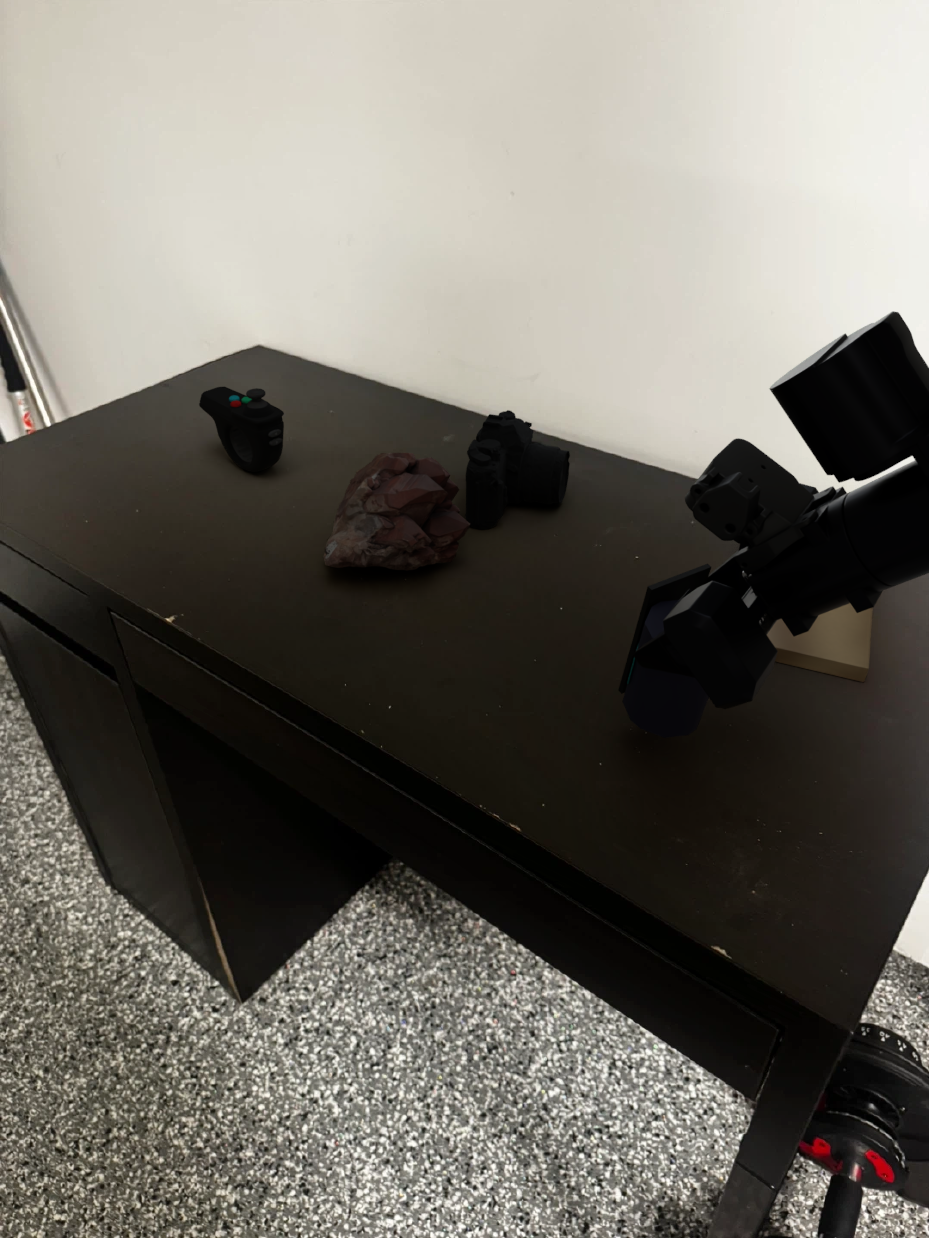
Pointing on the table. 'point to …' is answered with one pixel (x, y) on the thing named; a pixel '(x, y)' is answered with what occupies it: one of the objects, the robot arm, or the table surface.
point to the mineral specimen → (397, 516)
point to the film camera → (511, 470)
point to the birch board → (828, 643)
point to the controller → (246, 426)
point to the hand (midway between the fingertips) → (663, 629)
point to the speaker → (657, 694)
